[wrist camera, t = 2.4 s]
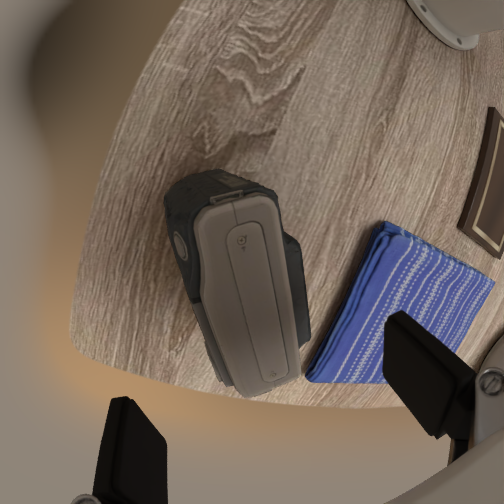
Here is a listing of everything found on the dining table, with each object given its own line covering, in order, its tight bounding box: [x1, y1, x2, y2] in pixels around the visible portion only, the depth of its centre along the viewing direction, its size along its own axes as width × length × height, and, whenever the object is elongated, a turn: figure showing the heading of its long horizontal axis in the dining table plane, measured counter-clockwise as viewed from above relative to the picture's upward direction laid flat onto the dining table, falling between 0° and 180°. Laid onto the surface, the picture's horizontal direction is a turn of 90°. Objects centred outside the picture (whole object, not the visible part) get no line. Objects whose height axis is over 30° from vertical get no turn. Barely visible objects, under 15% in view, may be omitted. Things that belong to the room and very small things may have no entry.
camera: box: [164, 169, 311, 397], centre depth 17 cm, size 11×6×10 cm, turn 10°
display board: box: [457, 107, 504, 260], centre depth 24 cm, size 12×16×1 cm
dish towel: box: [305, 221, 495, 384], centre depth 27 cm, size 17×24×3 cm
